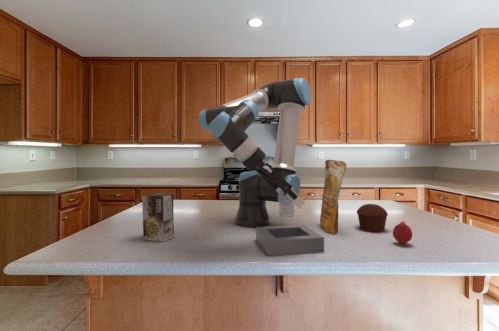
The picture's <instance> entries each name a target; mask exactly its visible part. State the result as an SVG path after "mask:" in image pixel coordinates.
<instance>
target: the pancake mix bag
mask: <svg viewBox="0 0 499 331" xmlns="http://www.w3.org/2000/svg"><path fill="white" fill-rule="evenodd" d="M324 165H325V166H324V167H325V168H324V170H325V172H324V182H323V184H324V186H323V191H322V192H323V193H322V197H321V198H322V199H321V210H320V215H319V216H320V218H319V224H320V226H321V228H322V230H324V231H325V232H326V233H328V234H333V235H336V234H338V232H339V195H340V193H341V192H340V191H341V189H342V188H341V187H342V182H343V178H344V176H345V172H346V169H347V164H346V162H345V161H342V160H336V159H326V160H325V161H324Z"/></svg>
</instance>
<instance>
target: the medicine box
mask: <svg viewBox="0 0 499 331" xmlns="http://www.w3.org/2000/svg"><path fill="white" fill-rule="evenodd" d="M292 189H293V190H294V187H292ZM283 194H284V192H283V191H282V190H281V189H280V190H279V202H278V206H279V208H278V213H279V214H278V215H279V217H285V218H286V217H287V218H288V217H289V218H293V217H294V214H295V204H294V203H293V202H292V201H291V200H290V199H289V198H288V197H287V196H286V195H285V196H284V195H283Z"/></svg>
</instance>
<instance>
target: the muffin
mask: <svg viewBox="0 0 499 331" xmlns="http://www.w3.org/2000/svg"><path fill="white" fill-rule="evenodd" d="M356 214H357V216H358V217H357V218H358V223H359V224H358V225H359V229H360V230H362V231H364V230H365V232H368V231H369V232H368V233H382V232H384V231H385V228H386V222H387V216H388V215H389V213H388V212H387V210H386V209H385V208H384V207H382V206H380V205H378V204H375V203H366V204H363V205H361V206H360V207H359V208H358V209H357V211H356Z"/></svg>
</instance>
